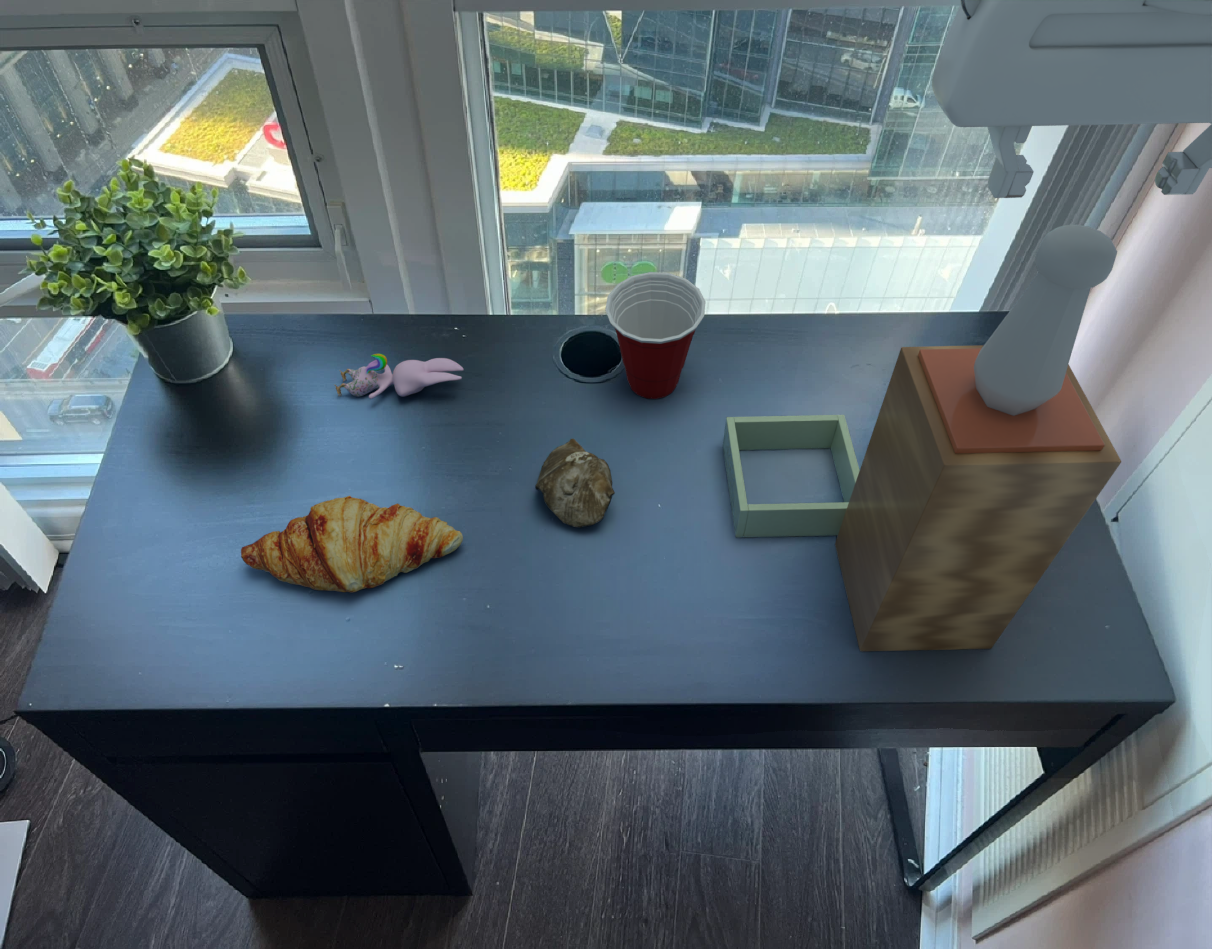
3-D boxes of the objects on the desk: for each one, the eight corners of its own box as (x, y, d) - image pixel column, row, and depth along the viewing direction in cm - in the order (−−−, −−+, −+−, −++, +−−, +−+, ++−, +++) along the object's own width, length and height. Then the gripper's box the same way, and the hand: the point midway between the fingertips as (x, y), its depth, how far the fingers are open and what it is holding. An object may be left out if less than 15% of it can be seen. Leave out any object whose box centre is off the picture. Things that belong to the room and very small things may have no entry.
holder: (836, 442, 93) (844, 414, 89) (860, 535, 85) (870, 507, 81) (722, 445, 93) (726, 416, 89) (735, 537, 85) (740, 510, 81)
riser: (954, 541, 84) (1057, 343, 64) (991, 649, 76) (1122, 461, 57) (834, 543, 84) (901, 346, 64) (859, 651, 76) (944, 465, 57)
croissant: (468, 543, 89) (459, 473, 86) (465, 590, 80) (455, 514, 77) (261, 566, 87) (245, 495, 84) (234, 616, 77) (214, 539, 74)
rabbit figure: (340, 415, 98) (463, 403, 96) (318, 378, 94) (446, 364, 92) (353, 378, 102) (470, 365, 100) (332, 341, 98) (455, 327, 96)
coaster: (1049, 352, 64) (1052, 346, 63) (1101, 450, 57) (1105, 445, 57) (917, 354, 64) (919, 349, 63) (954, 453, 57) (957, 447, 57)
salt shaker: (1039, 435, 57) (1128, 279, 47) (955, 406, 59) (1023, 249, 49) (1057, 384, 61) (1143, 227, 51) (976, 357, 62) (1044, 201, 52)
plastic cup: (594, 404, 97) (591, 323, 88) (622, 345, 104) (622, 264, 95) (684, 425, 95) (691, 344, 86) (708, 363, 101) (716, 281, 92)
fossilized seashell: (632, 510, 84) (608, 450, 92) (595, 474, 80) (573, 414, 87) (572, 550, 86) (554, 488, 93) (533, 517, 81) (517, 454, 89)
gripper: (1007, -66, 35) (916, 226, 45) (1505, -75, 35) (1297, 219, 45) (963, -114, 39) (889, 164, 49) (1409, -122, 39) (1239, 158, 49)
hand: (1087, 191), depth 47 cm, fingers open, 8 cm apart
